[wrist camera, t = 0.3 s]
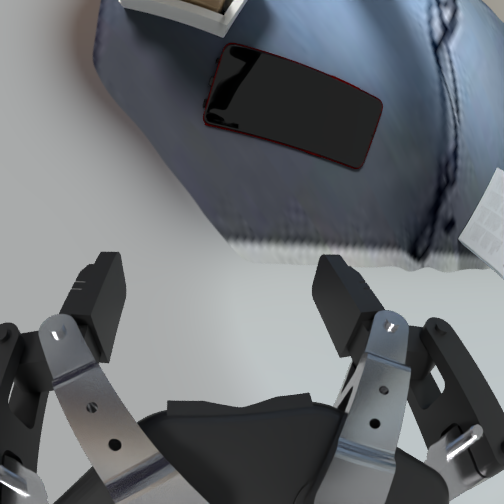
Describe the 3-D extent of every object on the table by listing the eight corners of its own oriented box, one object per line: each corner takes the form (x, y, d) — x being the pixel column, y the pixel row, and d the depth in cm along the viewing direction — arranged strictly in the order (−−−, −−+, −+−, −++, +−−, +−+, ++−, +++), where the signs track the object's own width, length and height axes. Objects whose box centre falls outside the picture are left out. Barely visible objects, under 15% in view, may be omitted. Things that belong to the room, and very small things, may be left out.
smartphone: (223, 39, 28) (386, 101, 35) (222, 41, 30) (380, 100, 36) (197, 124, 34) (361, 172, 40) (198, 123, 35) (356, 169, 42)
